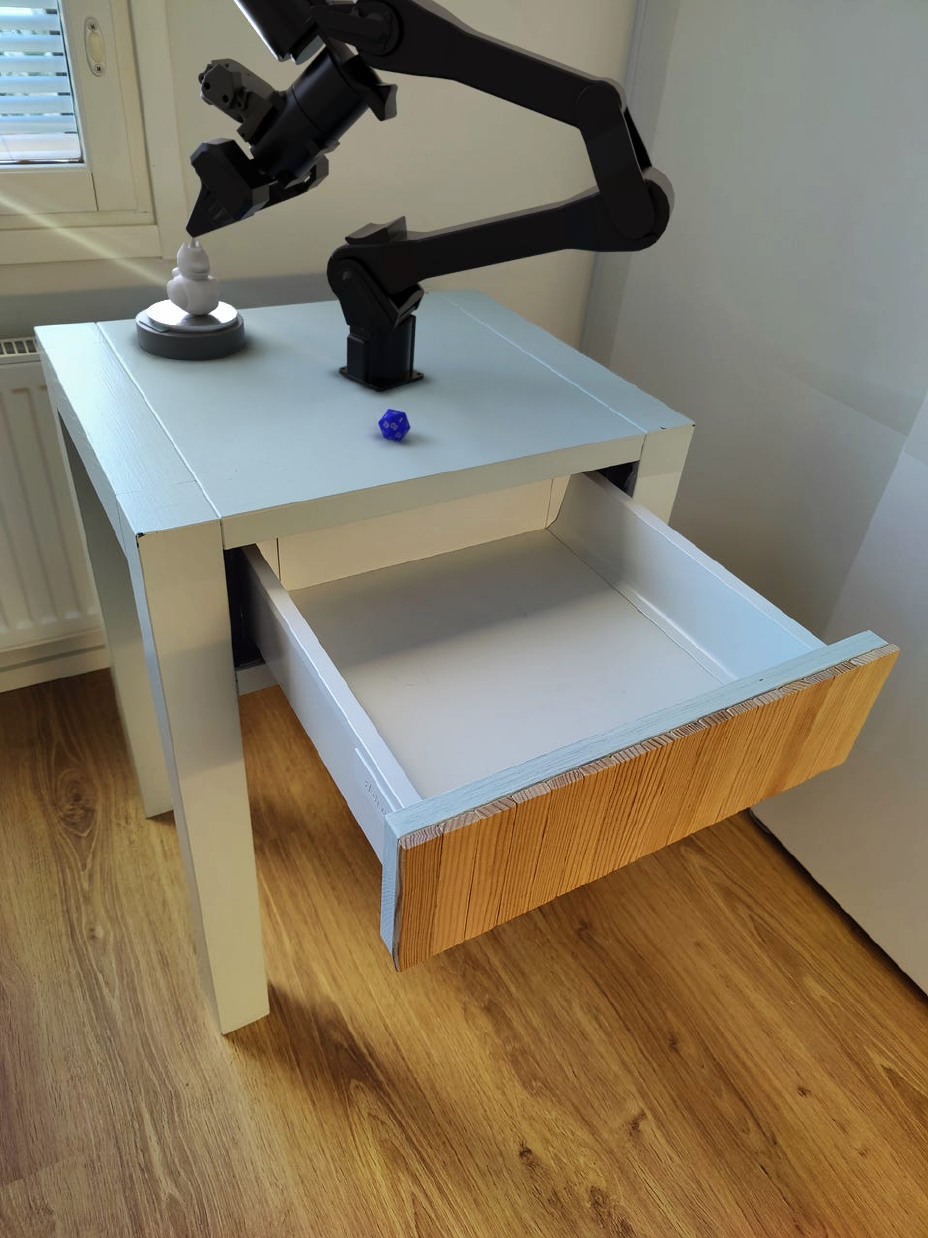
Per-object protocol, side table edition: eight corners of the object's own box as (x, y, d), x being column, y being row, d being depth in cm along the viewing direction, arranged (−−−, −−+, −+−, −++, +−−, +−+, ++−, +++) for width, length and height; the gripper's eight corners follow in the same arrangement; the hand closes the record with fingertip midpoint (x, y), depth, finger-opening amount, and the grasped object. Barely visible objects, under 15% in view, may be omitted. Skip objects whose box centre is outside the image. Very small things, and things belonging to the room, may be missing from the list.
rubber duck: (187, 324, 88) (178, 241, 84) (156, 305, 92) (147, 225, 87) (234, 316, 92) (229, 236, 87) (203, 298, 95) (196, 220, 90)
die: (383, 430, 80) (404, 406, 79) (400, 449, 79) (421, 425, 78) (367, 424, 78) (388, 399, 77) (384, 444, 77) (405, 419, 76)
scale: (206, 317, 100) (204, 290, 98) (265, 346, 94) (264, 317, 92) (118, 335, 93) (113, 306, 91) (176, 367, 87) (173, 337, 85)
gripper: (298, 23, 82) (201, 138, 90) (201, 28, 67) (96, 164, 75) (374, 129, 86) (274, 230, 94) (298, 156, 71) (187, 273, 79)
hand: (212, 223), depth 85 cm, fingers open, 9 cm apart
